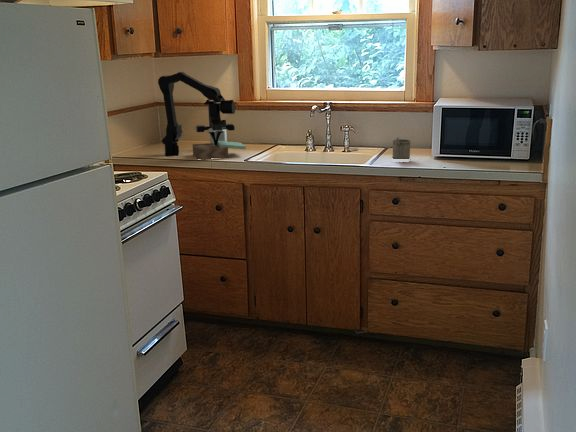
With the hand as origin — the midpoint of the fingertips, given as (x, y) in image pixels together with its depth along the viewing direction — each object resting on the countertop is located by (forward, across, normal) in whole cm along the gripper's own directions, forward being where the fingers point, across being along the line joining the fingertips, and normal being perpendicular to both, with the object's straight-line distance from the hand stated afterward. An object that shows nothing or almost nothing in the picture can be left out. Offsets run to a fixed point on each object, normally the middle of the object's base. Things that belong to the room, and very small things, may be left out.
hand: (215, 145), depth 314 cm
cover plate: (+1, +7, 0) cm, 7 cm away
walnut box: (+6, -3, 0) cm, 6 cm away
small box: (+6, +5, +19) cm, 21 cm away
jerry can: (+6, +79, -44) cm, 91 cm away
